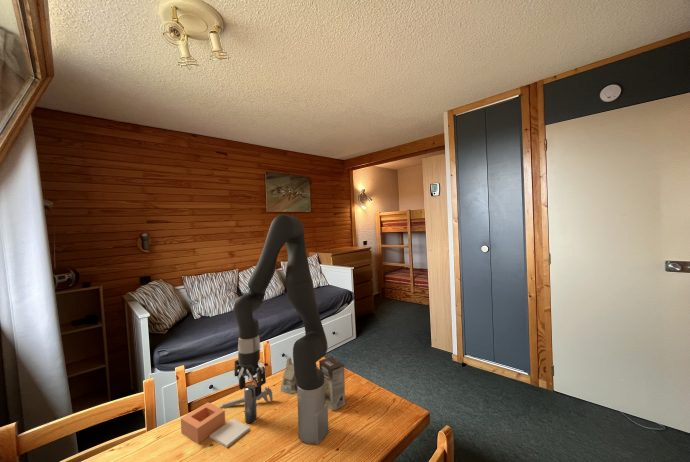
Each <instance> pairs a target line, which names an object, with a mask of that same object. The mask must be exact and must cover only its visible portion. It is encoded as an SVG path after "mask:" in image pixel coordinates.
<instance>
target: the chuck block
mask: <svg viewBox="0 0 690 462" xmlns="http://www.w3.org/2000/svg"><path fill="white" fill-rule="evenodd" d="M219 407H220V406H216V405H214V404H213V403H211V402H208V401H207V402H206V403H205V404H203V405H201V406H199V407H197V408H196V409H194V410H192V411H191V412H189V413H187V414H185V415H183V416H182V417H181V418H180V432H181V434H182V435H184V436H185V437H187V438H188V439H190V440H191V441H193V442H194V443H196V444H199V443H201V442H203V441H204V440H205V439H207V438H208V437H210V435H211V434H212V433H214V432H215V431H216V430H218V429H219V428H221V427H222V426H223V425H225V424H226V411H225V409H224V408H219Z"/></svg>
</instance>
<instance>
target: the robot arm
mask: <svg viewBox="0 0 690 462" xmlns="http://www.w3.org/2000/svg"><path fill="white" fill-rule="evenodd" d="M266 235H267V236H266V239H265V241H264V245H263V248H262V250H261V253H260V256H259V259H258V261H257V264H256V266H255V267H254V269H253V272H252V273H251V275H250V277H249V280H248V282H247V287H248V291H247V292H246V293H245V294H243V295H240V296H238V297H237V298H236V300H235V302H234V305H233V312H234V315H235V319H236V323H237V326H238V342H237V353H238V354H237V355H238V356H237V357H238V359H236V360H234V369H233V370H234V372H233V373H234V374H233V375H234V377H237V380H238V389H239V390H244V388H245V387H246V377H248V378H250V381H251V382H253V384H254V385H255V396H256V397H257V396H259V395H260V394H261V391H262V386H263V385H265V384H266V383H267V381H266V379H267V378H266V367H265V366H262V367H260V366H259V362H260V359H261V345H260V344H261V341H260V327H259V326H260V325H259V324H260V323H259V320H258V319H257V318H256V317H254V316H253V313H254V312H255V311H257V310H258V309H259V308H260V307H261V306H262V305H263V304H262V303H263V302H264V299H265V296H266V293H267V289H268V287H269V285H270V283H271V281H272V280H273V277H274V275H275V272H276V268H277V261H278V257H279V254H280V252H281V251H282V248H283V247H284V245H285V249H286V253H287V263H286V268H285V275H284V282H285V287H286V293H287V297H288V301H289V302H290V304H291V306H292V307H293V308H294V309H295V311H296V312H297V313H298V314H299V316H300V318H301V319H302V322H303V327H304V332H305V335H304V336H301V337H300V338H298V339H297V340H296V341H295V342H294V344H293V348H292V360H293V361H292V363H293V364H294V374H295V377H296V380H297V395H296V396H297V397H296V398H297V421H298V422H297V423H298V425H297V427H298V439H299V440H300V441H301V442H303V443H304V444H309V445H313V444H316V445H319V444H320V443H321V442H322V441H323V439H324V438H325V437H326V436H327V434H328V433H329V413H328V412H329V407H328V405H327V404H325V385H324V373H323V372H322V371H321V370H320V368H318V369H317V368H316V365H317V362H319V361H320V360H322V358H324V357H325V355H326V354H327V353H328V340H327V336H326V333H325V330H324V326H323V324H322V320H321V316H320V312H319V307H318V303H317V299H316V295H315V288H314V283H313V279H312V275H311V273H312V272H311V270H310V264H309V259H308V255H307V249H306V241H305V229H304V225H303V221H301V220H300V218H298V217H297V216H294V215H288V214H279V215H277V216H275V218H274V219H273V220H272V221H271V224H270V226H269V229H268V233H267V234H266ZM255 375H256V376H255Z"/></svg>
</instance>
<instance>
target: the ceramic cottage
mask: <svg viewBox="0 0 690 462" xmlns="http://www.w3.org/2000/svg"><path fill="white" fill-rule="evenodd" d="M316 368H317V369H319V367H318V365H317V364H316ZM282 378H283V380H282V381H281V384H280V391H281V392H282V393H284V394H289V395H295V394H297V380H296V377H295V374H294V363H293V361H292V357H290V356H288V357H287V358H286V365H285V371H284V372H283V375H282Z"/></svg>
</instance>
